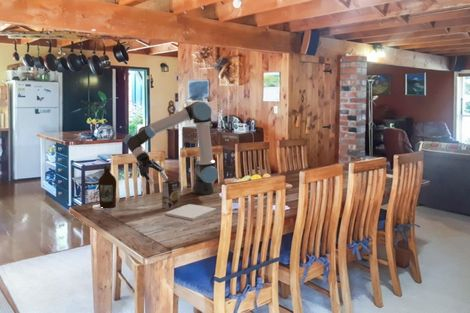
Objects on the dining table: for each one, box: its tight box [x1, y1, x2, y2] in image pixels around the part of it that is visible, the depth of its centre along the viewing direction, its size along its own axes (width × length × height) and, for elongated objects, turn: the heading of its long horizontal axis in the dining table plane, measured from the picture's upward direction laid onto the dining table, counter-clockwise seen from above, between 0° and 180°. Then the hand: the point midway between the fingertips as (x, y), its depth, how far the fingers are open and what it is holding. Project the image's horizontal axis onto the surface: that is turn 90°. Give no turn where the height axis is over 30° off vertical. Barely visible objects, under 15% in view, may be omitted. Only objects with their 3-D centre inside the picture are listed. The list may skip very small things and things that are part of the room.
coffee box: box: [161, 179, 181, 210], centre depth 261 cm, size 9×6×16 cm
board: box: [164, 203, 217, 221], centre depth 251 cm, size 24×20×1 cm
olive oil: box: [97, 165, 117, 209], centre depth 258 cm, size 11×11×25 cm
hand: (159, 181), depth 263 cm, fingers open, 13 cm apart
